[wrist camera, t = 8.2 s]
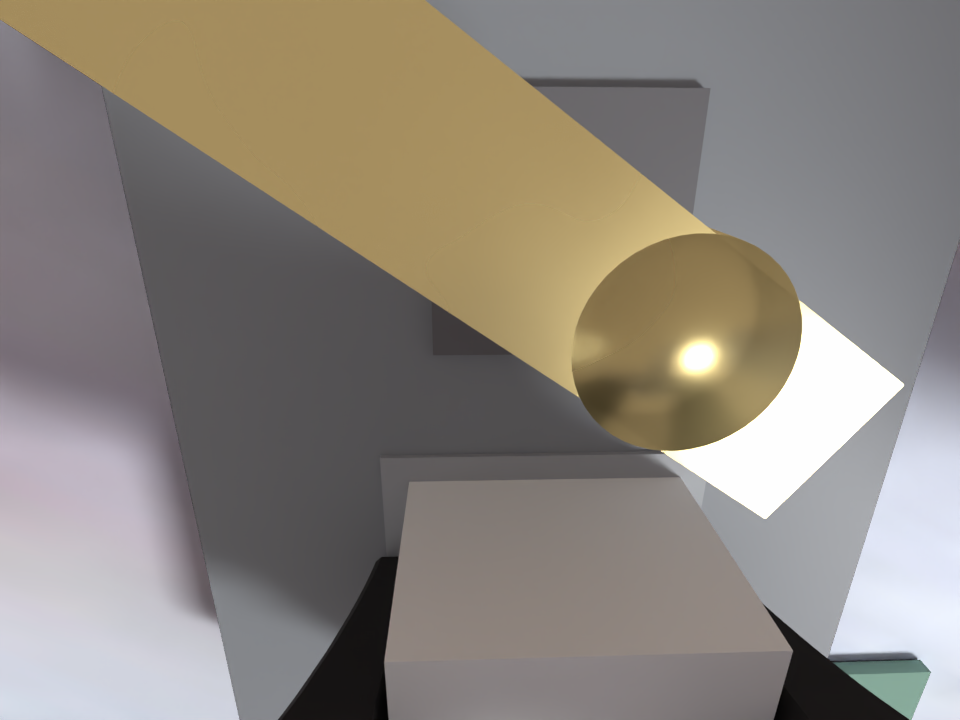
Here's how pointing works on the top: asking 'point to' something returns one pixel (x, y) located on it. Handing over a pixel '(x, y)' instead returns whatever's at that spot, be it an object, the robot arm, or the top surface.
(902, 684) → the mat
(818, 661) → the robot arm
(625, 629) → the white square block
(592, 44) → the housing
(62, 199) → the top surface
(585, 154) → the brass lever handle
